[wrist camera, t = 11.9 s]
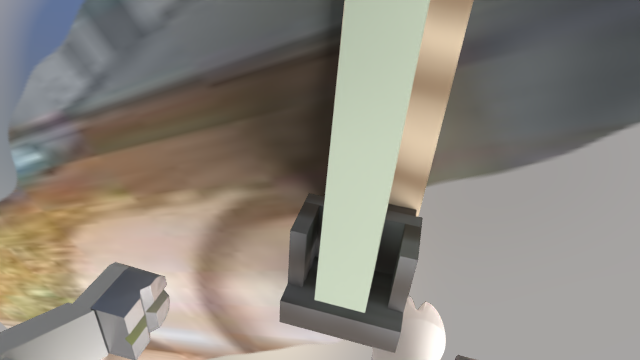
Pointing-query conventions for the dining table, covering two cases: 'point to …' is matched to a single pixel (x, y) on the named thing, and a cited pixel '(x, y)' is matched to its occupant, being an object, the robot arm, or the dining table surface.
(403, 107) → the rail
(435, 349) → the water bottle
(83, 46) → the dining table surface
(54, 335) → the robot arm
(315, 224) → the rail stand
